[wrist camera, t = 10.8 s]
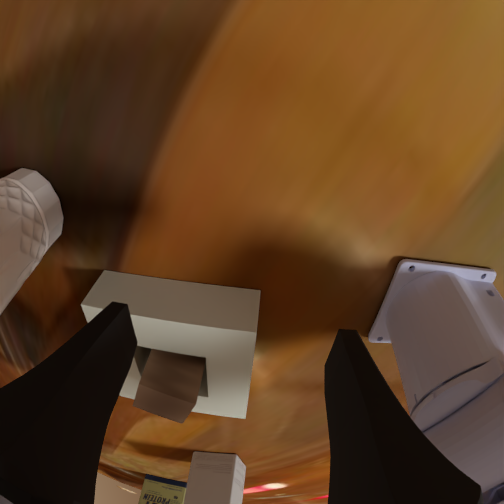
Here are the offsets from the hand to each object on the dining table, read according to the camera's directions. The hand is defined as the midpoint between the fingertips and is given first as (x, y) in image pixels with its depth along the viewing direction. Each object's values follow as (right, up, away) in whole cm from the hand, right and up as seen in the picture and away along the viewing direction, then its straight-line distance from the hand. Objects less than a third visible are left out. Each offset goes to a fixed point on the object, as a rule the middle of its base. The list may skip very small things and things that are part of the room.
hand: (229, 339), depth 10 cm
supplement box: (-4, -31, +33) cm, 45 cm away
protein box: (-20, -56, +51) cm, 78 cm away
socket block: (-5, -4, +15) cm, 16 cm away
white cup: (-16, +7, +9) cm, 20 cm away
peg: (-5, -4, +15) cm, 16 cm away
